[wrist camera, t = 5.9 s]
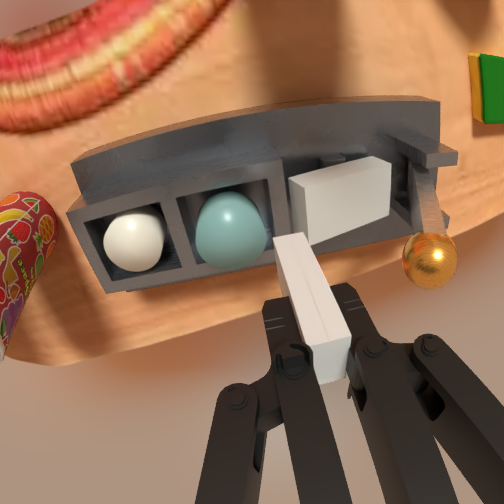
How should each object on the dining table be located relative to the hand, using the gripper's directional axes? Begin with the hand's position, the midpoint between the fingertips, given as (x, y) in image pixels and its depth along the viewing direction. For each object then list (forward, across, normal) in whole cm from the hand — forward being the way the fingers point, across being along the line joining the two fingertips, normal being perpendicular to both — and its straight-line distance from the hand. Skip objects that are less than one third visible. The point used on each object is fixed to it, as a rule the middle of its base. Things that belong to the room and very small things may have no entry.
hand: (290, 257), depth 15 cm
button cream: (+7, -9, 0) cm, 12 cm away
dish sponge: (+11, +29, +8) cm, 32 cm away
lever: (+7, +12, 0) cm, 14 cm away
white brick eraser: (+6, +5, 0) cm, 8 cm away
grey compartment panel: (+11, +1, 0) cm, 11 cm away
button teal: (+5, -3, 0) cm, 6 cm away
